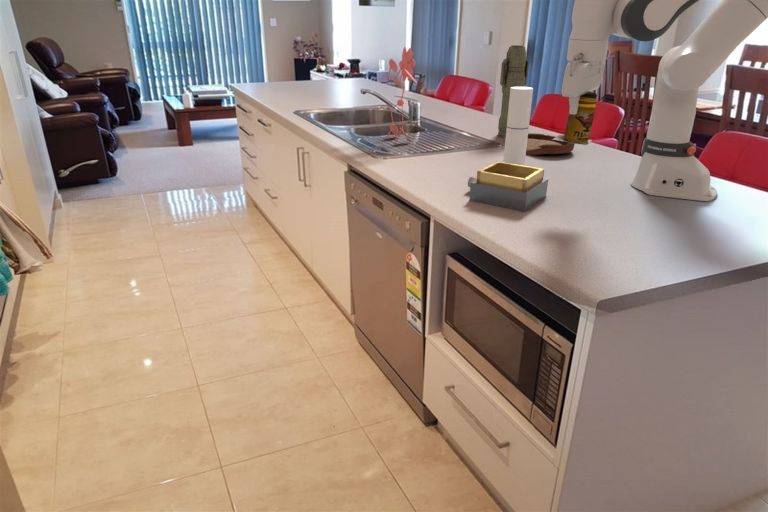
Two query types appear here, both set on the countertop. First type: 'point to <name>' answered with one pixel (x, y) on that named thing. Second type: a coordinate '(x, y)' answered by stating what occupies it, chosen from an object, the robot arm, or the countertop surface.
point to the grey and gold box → (508, 186)
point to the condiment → (580, 121)
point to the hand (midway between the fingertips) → (578, 111)
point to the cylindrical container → (518, 125)
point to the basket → (546, 145)
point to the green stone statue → (512, 80)
